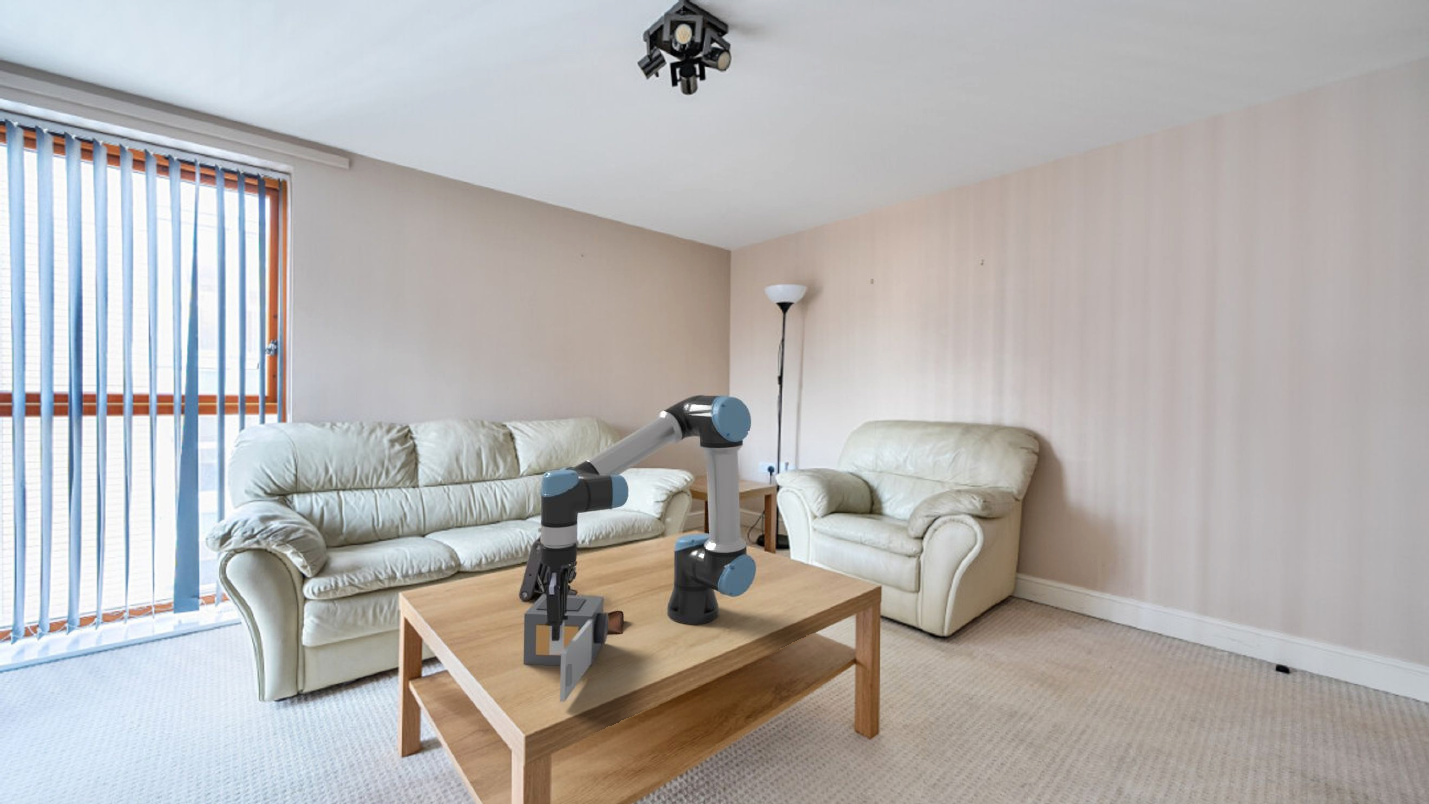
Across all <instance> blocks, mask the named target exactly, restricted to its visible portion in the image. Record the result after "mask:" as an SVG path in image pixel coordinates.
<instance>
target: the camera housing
mask: <svg viewBox="0 0 1429 804" xmlns="http://www.w3.org/2000/svg"><path fill="white" fill-rule="evenodd" d="M604 599H605V597H604V596H594V595H575V596H572V595H567V612H566V613H565V616H568V620H562V621H564V649H565V648H566V646H567V645H568V644H569V643H570V642H571V640H572V639H573V638H574V637H575V636H576V634H577V633H578V632H579V631H580V629H581V628H582V627H583V626H584V625H585V623H586V622H587V621H588V619H593V649H592V663H591V664H590V666H589V667H588V668H590V667H591V666H592V664H593V662H594V661H595V658H596V657H597V655H598V652H599V651H600V649H601V647H602V645H604V644H606V641H607V637H608V626H609V617H608V613H603V612H604V603H605V601H604ZM523 618H524V619H523V665H537V664H538V665H540V666H543V665H544V666H561V654H551V655H549V649H550V626H548V625H546V622H547V601H546V595H545V594H542V593H541V595H540V597H539V598H538V599H537V600H536V601H535V602H534V603H532V605H531V606H530V607H529V608H528V609H527V610H526V612H524V617H523ZM538 665H537V666H538Z"/></svg>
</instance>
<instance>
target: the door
mask: <svg viewBox="0 0 1429 804" xmlns="http://www.w3.org/2000/svg"><path fill="white" fill-rule="evenodd" d="M592 649H593V619H588V621H587V622H586V623H585V625H584V626H583V627H582V628H581V629H580V631H579V632H578V633H577V634H576V636H575V637H574V638H573V639H572V640H571V642H570V643H569V644H568V645H567V646H566V648H565V649H564V650H563V651H562V653H561V665H560V683H559V685H560V686H559V687H560V688H559V689H560V690H559V691H560V692H559V701H560V702H563V703H564V702H566V701H567V699H568V698H569V697H570V695H571V694H572V692H573V691H574V689H575V687H577V685H578V683H579V682H580V680H581V679H582V677H583V676H584V674H585V673H586V672H587V670H588V669H589V668H590V667H589V666H590V664H591V663H592ZM592 664H593V663H592Z"/></svg>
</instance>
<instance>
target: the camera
mask: <svg viewBox="0 0 1429 804" xmlns="http://www.w3.org/2000/svg"><path fill="white" fill-rule="evenodd" d="M541 545H542V543H541V534H540V536H538V538H537V539H536V540H535V541H533V542H532V545H531V546H530V551H529V555H528V558H527V562H526V567H525V569H524V573H523V579H522V582H521V585H520V588H519V592H518V597H519V599H520V600H521V601H523V602H526V601H530V599H531V598H532V597H533V596H534V595H535V594H536V593H539V594H541V595H542V594H545V595H546V592H545V586H546V585H548V581H547V573H548V572H549V571H550V567H549V566H547V565H543V564H542V563H541V562H540V547H541ZM577 565H578V561H577V560H576V561H575V562H573V563H572V564H569V565H567V567H570V570H569V579H568V594H567V595H572V596H576V594H577V593H578V590H576V589H572V587H571V585H570V584H572V583H573V582H574V580H576V578H577V573H578V572H577V571H576V569H577Z"/></svg>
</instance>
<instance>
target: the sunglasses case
mask: <svg viewBox="0 0 1429 804" xmlns="http://www.w3.org/2000/svg"><path fill="white" fill-rule="evenodd" d="M603 613H608V617H609V626H608V634H609V635H615V634H616V635H618V634H619V635H620V634H624V632H623V628H624V622H625V621H624V619H625V618H624V617H625V616H624V611H622V610H614V611H603ZM608 634H607V635H608Z"/></svg>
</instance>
